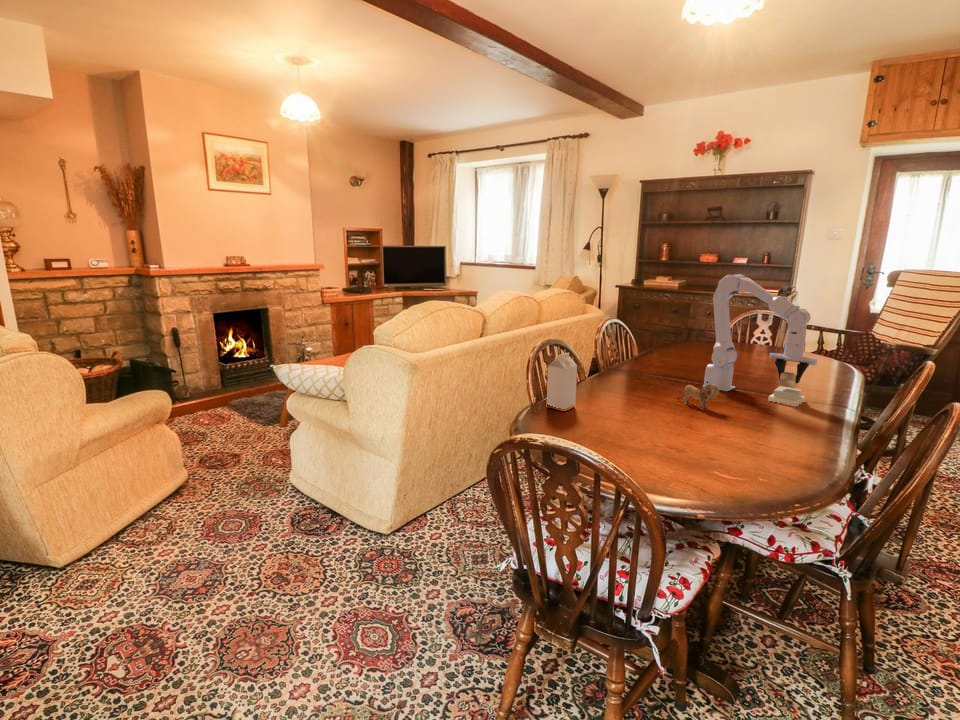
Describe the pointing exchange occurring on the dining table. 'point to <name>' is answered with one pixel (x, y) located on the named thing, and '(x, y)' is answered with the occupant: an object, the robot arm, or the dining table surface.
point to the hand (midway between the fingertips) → (789, 381)
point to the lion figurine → (700, 394)
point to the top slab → (787, 393)
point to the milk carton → (562, 382)
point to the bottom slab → (786, 400)
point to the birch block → (788, 379)
